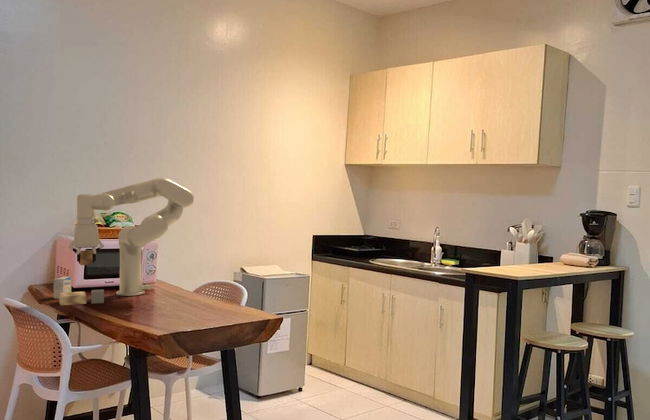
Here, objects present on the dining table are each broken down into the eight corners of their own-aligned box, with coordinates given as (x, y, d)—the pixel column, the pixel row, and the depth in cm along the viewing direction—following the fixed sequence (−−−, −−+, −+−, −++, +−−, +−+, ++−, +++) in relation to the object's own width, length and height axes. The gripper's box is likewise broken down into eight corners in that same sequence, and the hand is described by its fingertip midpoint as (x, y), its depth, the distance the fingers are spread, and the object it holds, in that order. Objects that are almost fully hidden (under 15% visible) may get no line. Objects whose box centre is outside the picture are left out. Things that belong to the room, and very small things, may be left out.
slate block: (104, 301, 253) (104, 289, 253) (103, 303, 248) (103, 291, 248) (91, 301, 251) (91, 290, 251) (91, 303, 246) (91, 291, 246)
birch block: (84, 300, 255) (84, 291, 254) (86, 304, 246) (86, 295, 245) (59, 302, 250) (59, 292, 250) (60, 306, 241) (60, 296, 241)
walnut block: (92, 263, 262) (92, 250, 262) (92, 264, 257) (92, 251, 257) (80, 263, 260) (80, 250, 260) (80, 265, 255) (80, 251, 255)
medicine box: (63, 298, 256) (63, 279, 256) (53, 298, 256) (53, 279, 256) (71, 295, 264) (71, 276, 264) (61, 295, 264) (61, 276, 264)
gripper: (106, 221, 265) (107, 261, 265) (65, 221, 259) (66, 262, 259) (106, 222, 258) (107, 263, 258) (64, 222, 252) (65, 264, 252)
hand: (86, 262), depth 259 cm, fingers closed on walnut block, 5 cm apart
